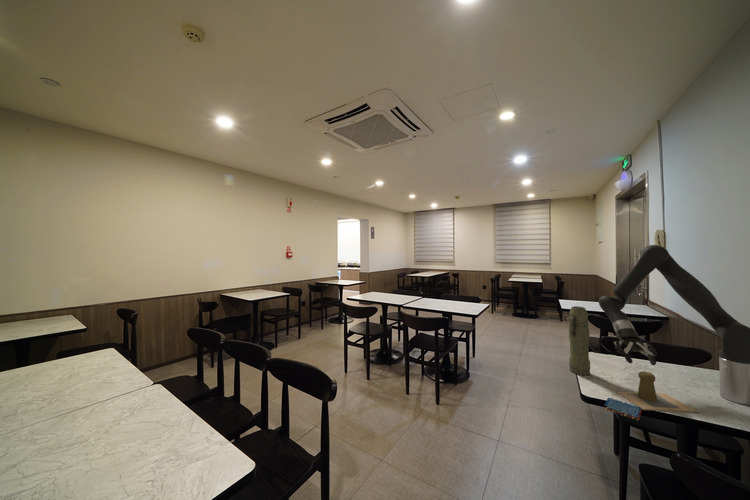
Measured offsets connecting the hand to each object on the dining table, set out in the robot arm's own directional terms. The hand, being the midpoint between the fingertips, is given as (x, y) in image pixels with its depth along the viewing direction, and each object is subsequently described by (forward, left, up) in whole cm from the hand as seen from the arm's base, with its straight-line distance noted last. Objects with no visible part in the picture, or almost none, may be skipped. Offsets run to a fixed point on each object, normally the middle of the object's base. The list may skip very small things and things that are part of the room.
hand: (642, 363), depth 119 cm
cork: (+3, +5, -13) cm, 14 cm away
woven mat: (+19, +14, -14) cm, 28 cm away
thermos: (+14, -20, -14) cm, 28 cm away
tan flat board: (+1, +7, -14) cm, 15 cm away
